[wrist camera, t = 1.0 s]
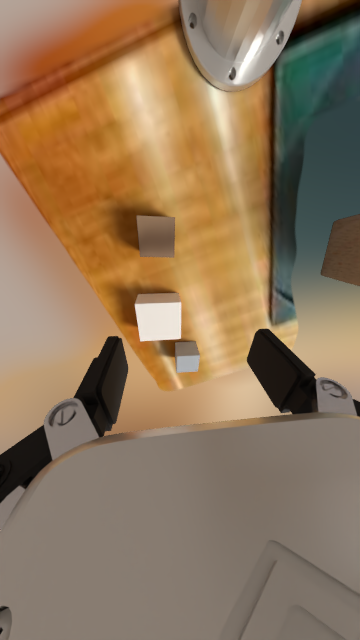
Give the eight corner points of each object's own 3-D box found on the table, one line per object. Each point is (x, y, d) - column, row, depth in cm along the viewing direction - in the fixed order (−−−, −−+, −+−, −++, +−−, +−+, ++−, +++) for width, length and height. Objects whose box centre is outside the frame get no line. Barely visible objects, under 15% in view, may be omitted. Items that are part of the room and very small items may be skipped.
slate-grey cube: (175, 341, 37) (177, 356, 33) (195, 341, 38) (199, 355, 34) (174, 357, 40) (176, 372, 36) (193, 356, 41) (197, 371, 36)
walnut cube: (140, 218, 24) (136, 215, 20) (172, 219, 25) (174, 217, 21) (143, 252, 27) (140, 256, 22) (172, 253, 27) (174, 257, 23)
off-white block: (138, 293, 31) (134, 304, 26) (178, 292, 31) (181, 302, 27) (143, 327, 35) (140, 341, 30) (178, 325, 35) (180, 338, 31)
